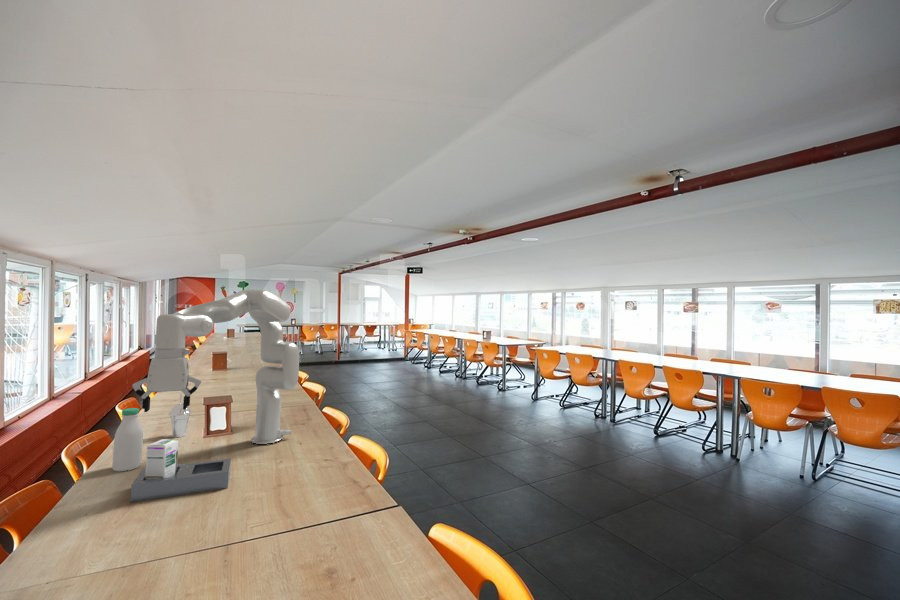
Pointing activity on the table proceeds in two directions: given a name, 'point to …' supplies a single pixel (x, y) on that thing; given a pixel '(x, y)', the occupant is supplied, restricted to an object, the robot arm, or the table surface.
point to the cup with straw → (179, 419)
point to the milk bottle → (128, 442)
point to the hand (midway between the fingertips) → (166, 409)
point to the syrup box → (162, 459)
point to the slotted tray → (183, 480)
